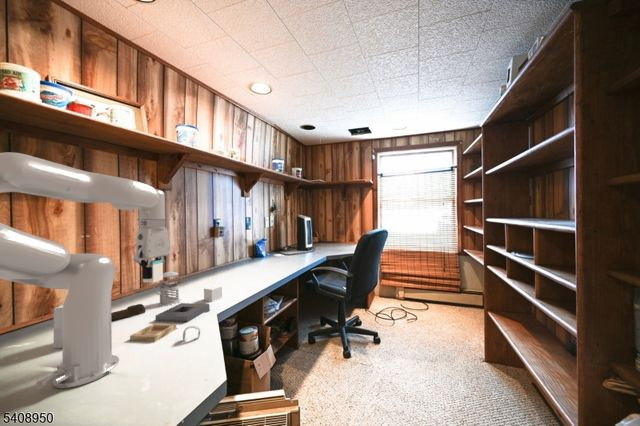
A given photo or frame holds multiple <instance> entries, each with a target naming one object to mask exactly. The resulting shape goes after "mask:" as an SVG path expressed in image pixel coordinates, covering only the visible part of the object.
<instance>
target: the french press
mask: <svg viewBox="0 0 640 426" xmlns="http://www.w3.org/2000/svg"><path fill="white" fill-rule="evenodd" d="M171 255H172V252H170V254H169V256H171ZM177 276H179V273H178V272H176V271H170V270H168V271H166V272H163V279H164V278H168V281H165V282H162V280H160V281H156V282H153V285H152V287H153V288H152V290H153V292H154V294H156V295H158V296H159V303H158V304H157V305H159V307H168V305H169V306H173V305H172V304H174V305H177V304H179V303H181V302H182V300H181V299H180V298H179V297H180V296H179V291H180V290H179V284H178V281H177V280H173V281H171V280H170V278H172V277H177ZM158 282H159V283H160V284H161V286H160V287H159V288H160V290H159V291H160V293H157V292H156V290H155V289H156V288H155V287H156V284H157V283H158ZM180 301H181V302H180ZM178 302H179V303H178ZM176 303H177V304H176Z"/></svg>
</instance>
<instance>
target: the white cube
mask: <svg viewBox="0 0 640 426" xmlns="http://www.w3.org/2000/svg"><path fill="white" fill-rule="evenodd" d="M220 298H221V299H223V287H222V286H219V285H211V286H208V287H204V288H203V300H204V301H205V300H207V301H206V302H210V301H213V302H216V301H218V300H220ZM217 299H218V300H217ZM215 300H216V301H215Z"/></svg>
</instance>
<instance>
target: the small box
mask: <svg viewBox="0 0 640 426" xmlns="http://www.w3.org/2000/svg"><path fill="white" fill-rule="evenodd" d="M62 308H63V304H62V305H60V306H56V307H54V308H53V349H62Z"/></svg>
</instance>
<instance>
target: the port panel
mask: <svg viewBox="0 0 640 426" xmlns="http://www.w3.org/2000/svg"><path fill="white" fill-rule="evenodd" d="M210 308H211V307H210V303H191V302H190V303H188V302H187V303H185V302H184V303H183V302H180V303H178V304H175V306H174V305H173V307H171V308H169V309H166V310H164V311H162V312H160V313H158V314H156V315H155V316H154V317H155V318H154V319H155V322H166V323H189V322H191V321H192V320H195V319H196V318H197V317H200V315H202V314H205V313H208V312H210Z"/></svg>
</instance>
